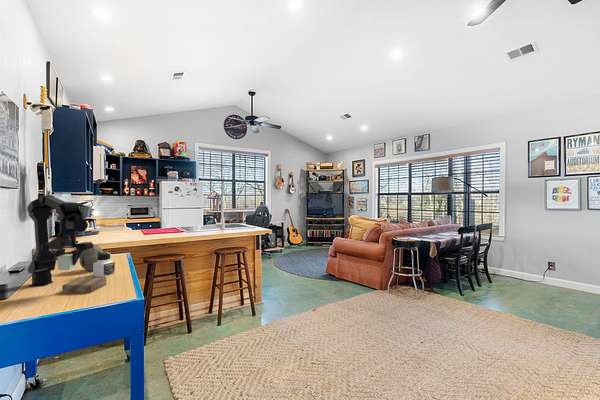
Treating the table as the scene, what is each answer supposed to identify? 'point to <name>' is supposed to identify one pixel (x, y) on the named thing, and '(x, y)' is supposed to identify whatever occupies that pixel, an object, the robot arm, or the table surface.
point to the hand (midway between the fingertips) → (67, 265)
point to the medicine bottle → (103, 265)
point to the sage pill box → (66, 262)
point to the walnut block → (84, 285)
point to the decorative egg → (90, 257)
